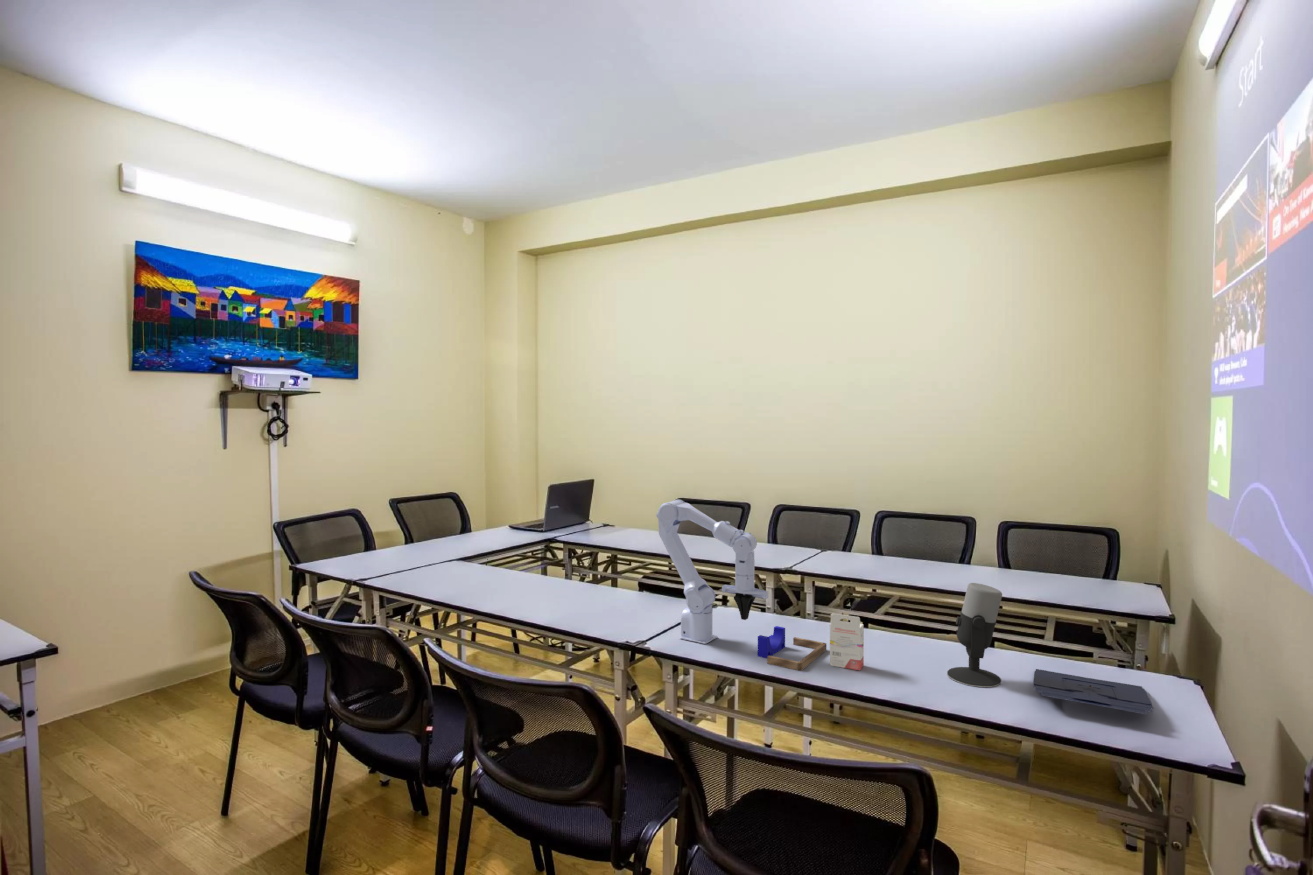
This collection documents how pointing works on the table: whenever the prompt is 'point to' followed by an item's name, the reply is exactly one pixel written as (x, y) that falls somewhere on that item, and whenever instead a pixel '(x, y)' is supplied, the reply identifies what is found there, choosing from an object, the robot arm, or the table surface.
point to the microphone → (977, 634)
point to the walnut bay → (800, 665)
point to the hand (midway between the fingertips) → (744, 618)
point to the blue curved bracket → (771, 642)
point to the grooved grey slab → (1092, 691)
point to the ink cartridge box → (846, 642)
